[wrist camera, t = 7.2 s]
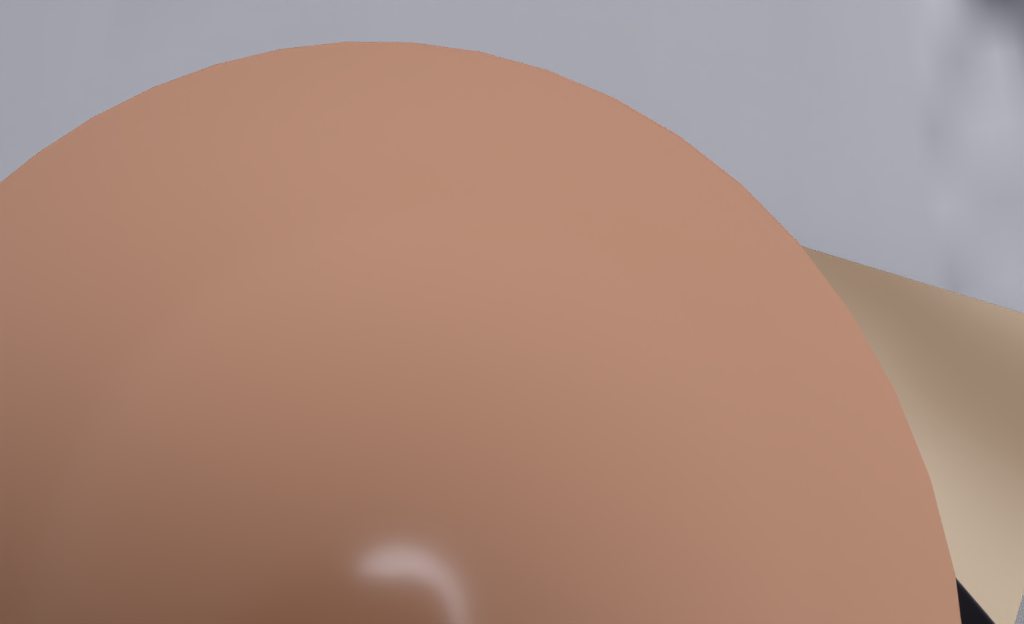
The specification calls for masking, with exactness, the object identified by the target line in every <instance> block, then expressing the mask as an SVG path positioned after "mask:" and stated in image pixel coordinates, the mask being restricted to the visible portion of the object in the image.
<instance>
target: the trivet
mask: <svg viewBox="0 0 1024 624" xmlns="http://www.w3.org/2000/svg"><path fill="white" fill-rule="evenodd" d="M802 248H803V249H804V250H805V252H806V253H807V254H808V256H809V257H810V258H811V260H812V261H813V262H814V264H815V265H816V266H817V268H818V269H819V270H820V272H821V273H822V274H823V276H824V277H825V278H826V280H827V281H828V282H829V284H830V285H831V286H832V288H833V289H834V290H835V292H836V293H837V294H838V296H839V297H840V298H841V300H842V301H843V302H844V304H845V305H846V306H847V308H848V309H849V310H850V312H851V313H852V315H853V317H854V319H855V321H856V322H857V324H858V326H859V328H860V329H861V331H862V333H863V335H864V336H865V338H866V340H867V342H868V344H869V345H870V347H871V349H872V351H873V352H874V354H875V356H876V358H877V359H878V361H879V363H880V365H881V367H882V368H883V370H884V372H885V374H886V375H887V377H888V379H889V381H890V382H891V384H892V386H893V388H894V390H895V392H896V394H897V397H898V399H899V402H900V404H901V407H902V409H903V412H904V414H905V417H906V419H907V422H908V424H909V427H910V429H911V431H912V434H913V436H914V439H915V441H916V444H917V446H918V449H919V451H920V454H921V456H922V459H923V461H924V464H925V466H926V469H927V471H928V474H929V476H930V479H931V483H932V486H933V490H934V494H935V498H936V502H937V506H938V510H939V514H940V517H941V521H942V525H943V529H944V533H945V537H946V541H947V544H948V548H949V552H950V556H951V560H952V564H953V568H954V572H955V576H956V578H957V579H958V581H959V582H960V583H961V584H962V585H963V586H964V588H965V589H966V590H967V591H968V592H969V593H970V595H971V596H972V597H973V598H974V599H975V600H976V602H977V603H978V604H979V605H980V606H981V607H982V609H983V610H984V611H985V612H986V613H987V614H988V616H989V617H990V618H991V619H992V620H993V621H994V623H995V624H1015V620H1016V617H1017V614H1018V610H1019V607H1020V603H1021V600H1022V596H1023V593H1024V313H1020V312H1017V311H1014V310H1011V309H1007V308H1004V307H1001V306H997V305H994V304H991V303H987V302H984V301H981V300H978V299H974V298H971V297H968V296H964V295H961V294H958V293H954V292H951V291H948V290H944V289H941V288H938V287H935V286H931V285H928V284H925V283H921V282H918V281H915V280H911V279H908V278H905V277H901V276H898V275H895V274H892V273H888V272H885V271H882V270H878V269H875V268H872V267H868V266H865V265H862V264H859V263H855V262H852V261H849V260H845V259H842V258H839V257H835V256H832V255H829V254H825V253H822V252H819V251H816V250H812V249H809V248H806V247H802Z"/></svg>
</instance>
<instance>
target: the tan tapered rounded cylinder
mask: <svg viewBox="0 0 1024 624" xmlns="http://www.w3.org/2000/svg"><path fill="white" fill-rule="evenodd" d="M0 624H961V617H960V609H959V601H958V593H957V584H956V576H955V572H954V568H953V564H952V560H951V556H950V552H949V548H948V544H947V541H946V537H945V533H944V529H943V525H942V521H941V517H940V514H939V510H938V506H937V502H936V498H935V494H934V490H933V486H932V483H931V479H930V476H929V474H928V471H927V469H926V466H925V464H924V461H923V459H922V456H921V454H920V451H919V449H918V446H917V444H916V441H915V439H914V436H913V434H912V431H911V429H910V427H909V424H908V422H907V419H906V417H905V414H904V412H903V409H902V407H901V404H900V402H899V399H898V397H897V394H896V392H895V390H894V388H893V386H892V384H891V382H890V381H889V379H888V377H887V375H886V374H885V372H884V370H883V368H882V367H881V365H880V363H879V361H878V359H877V358H876V356H875V354H874V352H873V351H872V349H871V347H870V345H869V344H868V342H867V340H866V338H865V336H864V335H863V333H862V331H861V329H860V328H859V326H858V324H857V322H856V321H855V319H854V317H853V315H852V313H851V312H850V310H849V309H848V308H847V306H846V305H845V304H844V302H843V301H842V300H841V298H840V297H839V296H838V294H837V293H836V292H835V290H834V289H833V288H832V286H831V285H830V284H829V282H828V281H827V280H826V278H825V277H824V276H823V274H822V273H821V272H820V270H819V269H818V268H817V266H816V265H815V264H814V262H813V261H812V260H811V258H810V257H809V256H808V254H807V253H806V252H805V250H804V249H803V248H802V246H801V245H800V244H799V243H798V242H797V240H796V239H795V238H794V237H793V236H792V235H791V234H790V233H789V232H788V231H787V230H786V229H785V228H784V227H783V226H782V225H781V224H780V223H779V222H778V221H777V220H776V219H775V218H774V217H773V216H772V215H771V214H770V213H769V212H768V211H767V210H766V209H765V208H764V207H763V206H762V205H761V204H760V203H759V202H758V201H757V200H756V199H755V198H754V197H753V196H752V195H751V194H750V193H749V192H748V191H747V190H746V189H745V188H744V187H743V186H742V185H741V184H740V183H739V182H738V181H736V180H735V179H734V178H733V177H731V176H730V175H729V174H727V173H726V172H725V171H724V170H722V169H721V168H720V167H718V166H717V165H716V164H715V163H713V162H712V161H711V160H709V159H708V158H707V157H706V156H704V155H703V154H702V153H700V152H699V151H698V150H697V149H695V148H694V147H693V146H691V145H690V144H689V143H688V142H686V141H685V140H684V139H682V138H681V137H680V136H678V135H677V134H675V133H673V132H671V131H670V130H668V129H666V128H665V127H663V126H661V125H660V124H658V123H656V122H654V121H653V120H651V119H649V118H648V117H646V116H644V115H642V114H641V113H639V112H637V111H636V110H634V109H632V108H630V107H629V106H627V105H625V104H624V103H622V102H620V101H618V100H617V99H615V98H613V97H610V96H608V95H606V94H603V93H601V92H598V91H596V90H594V89H591V88H589V87H587V86H584V85H582V84H579V83H577V82H575V81H572V80H570V79H567V78H565V77H563V76H560V75H558V74H555V73H553V72H551V71H548V70H545V69H541V68H538V67H534V66H530V65H527V64H523V63H519V62H516V61H512V60H508V59H504V58H501V57H497V56H493V55H490V54H486V53H482V52H477V51H470V50H463V49H455V48H448V47H441V46H434V45H426V44H419V43H403V42H340V43H332V44H323V45H314V46H305V47H297V48H288V49H279V50H275V51H271V52H267V53H262V54H258V55H254V56H250V57H246V58H241V59H237V60H233V61H229V62H225V63H220V64H216V65H213V66H210V67H208V68H205V69H202V70H199V71H197V72H194V73H191V74H188V75H186V76H183V77H180V78H177V79H175V80H172V81H169V82H166V83H164V84H161V85H158V86H156V87H153V88H151V89H149V90H147V91H145V92H143V93H141V94H139V95H137V96H135V97H133V98H131V99H129V100H127V101H125V102H123V103H121V104H119V105H117V106H115V107H113V108H111V109H109V110H107V111H105V112H103V113H101V114H99V115H97V116H95V117H93V118H91V119H90V120H88V121H87V122H85V123H84V124H82V125H80V126H79V127H77V128H76V129H74V130H73V131H71V132H70V133H68V134H66V135H65V136H63V137H62V138H60V139H59V140H57V141H56V142H54V143H52V144H51V145H49V146H48V147H46V148H45V149H43V150H42V151H40V152H38V153H37V154H36V155H35V156H33V157H32V158H31V159H30V160H28V161H27V162H26V163H25V164H23V165H22V166H21V167H20V168H18V169H17V170H16V171H15V172H13V173H12V174H11V175H10V176H8V177H7V178H6V179H5V180H3V181H2V182H1V183H0Z"/></svg>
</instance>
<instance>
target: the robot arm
mask: <svg viewBox="0 0 1024 624" xmlns="http://www.w3.org/2000/svg"><path fill="white" fill-rule="evenodd" d="M956 584H957V593H958V601H959V609H960V617H961V624H995V623H994V621H993V620H992V619H991V618H990V617H989V616H988V614H987V613H986V612H985V611H984V610H983V609H982V607H981V606H980V605H979V604H978V603H977V602H976V600H975V599H974V598H973V597H972V596H971V595H970V593H969V592H968V591H967V590H966V589H965V588H964V586H963V585H962V584H961V583H960V582H959V581H958V579H957V578H956Z"/></svg>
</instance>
